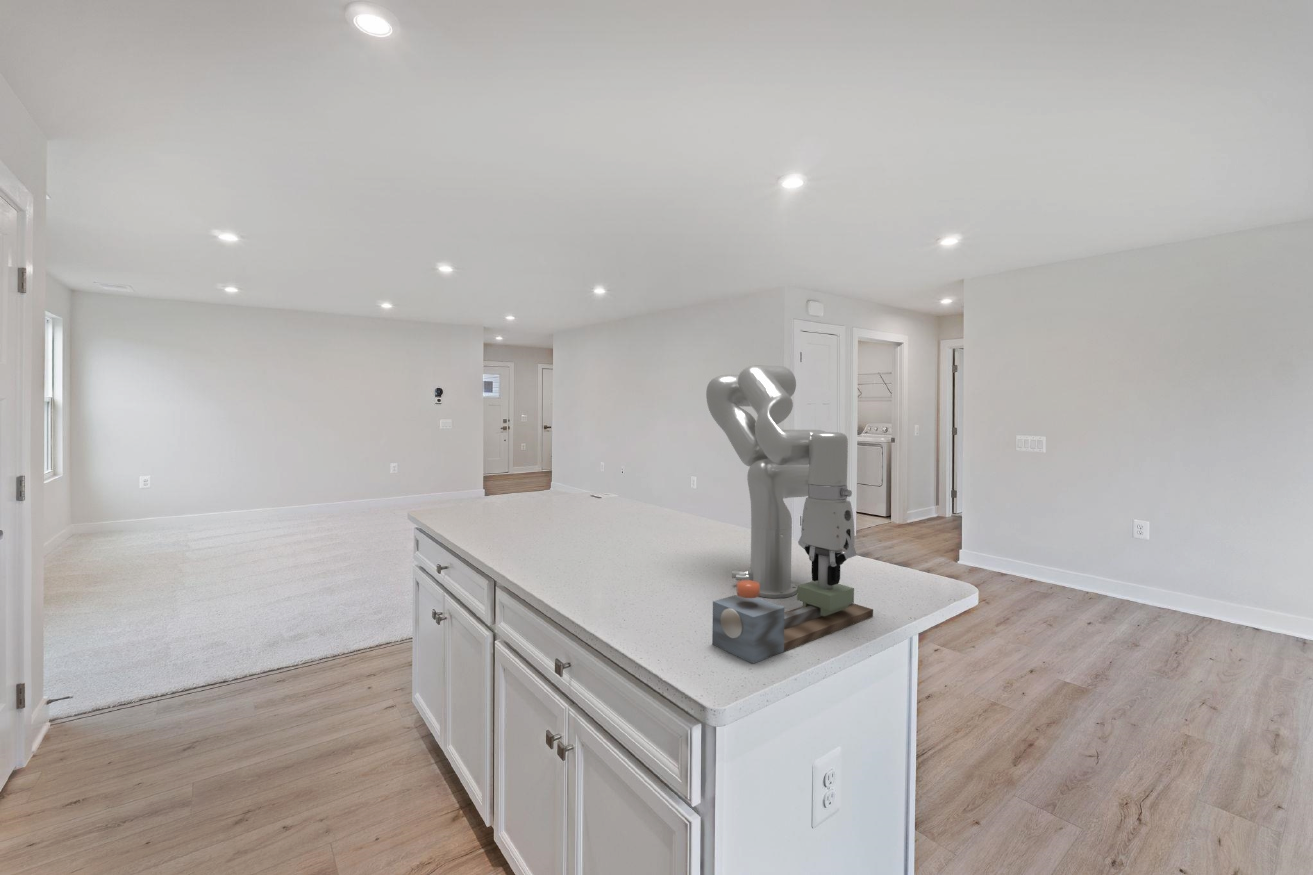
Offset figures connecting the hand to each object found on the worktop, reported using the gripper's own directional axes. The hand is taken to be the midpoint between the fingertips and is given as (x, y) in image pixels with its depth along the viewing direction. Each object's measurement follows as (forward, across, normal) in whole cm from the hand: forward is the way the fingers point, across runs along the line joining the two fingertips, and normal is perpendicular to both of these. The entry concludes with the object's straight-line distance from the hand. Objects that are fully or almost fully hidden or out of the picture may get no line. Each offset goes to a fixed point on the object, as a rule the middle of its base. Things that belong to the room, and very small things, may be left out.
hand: (825, 581), depth 116 cm
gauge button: (-2, 0, +23) cm, 23 cm away
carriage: (+6, 0, 0) cm, 6 cm away
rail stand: (+8, 0, +9) cm, 12 cm away
